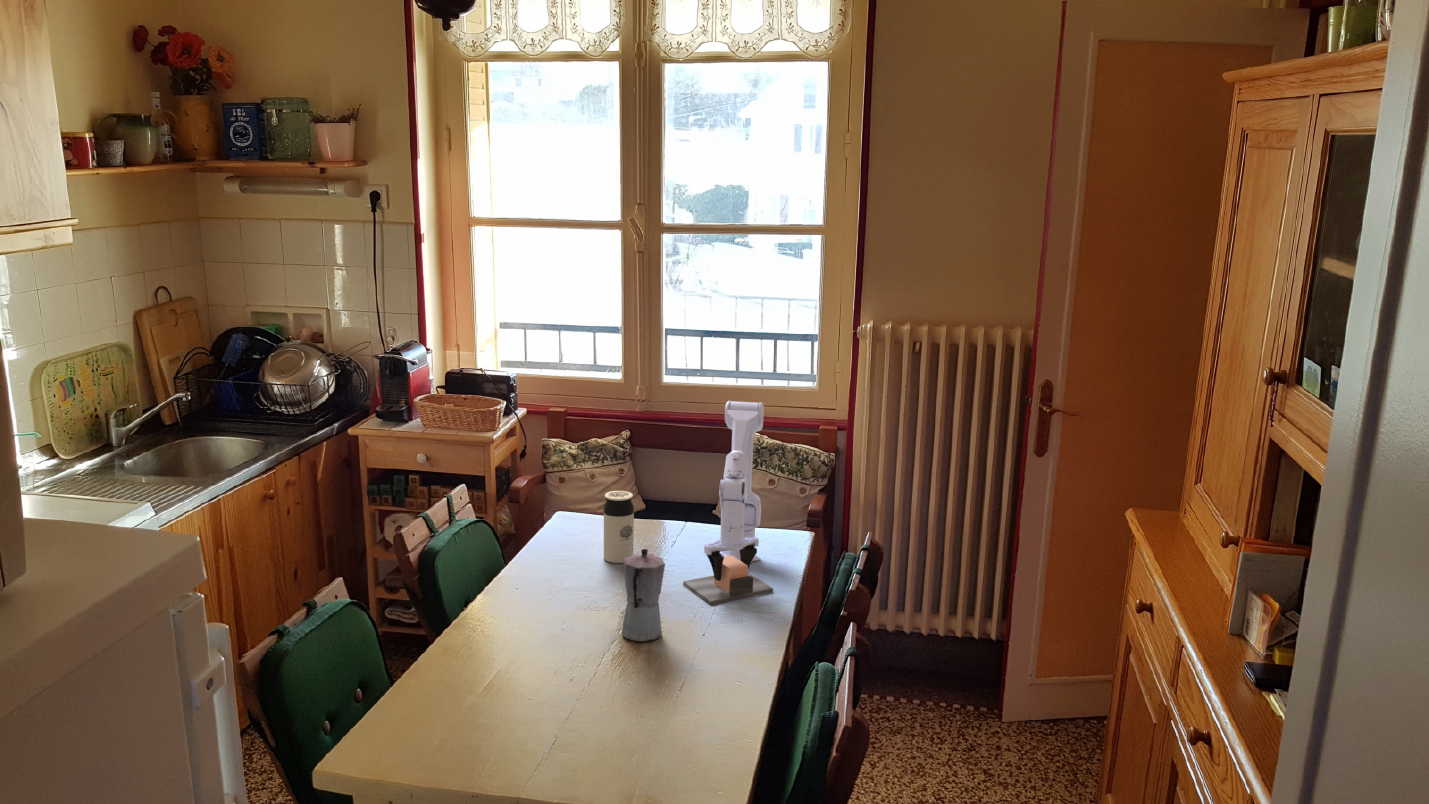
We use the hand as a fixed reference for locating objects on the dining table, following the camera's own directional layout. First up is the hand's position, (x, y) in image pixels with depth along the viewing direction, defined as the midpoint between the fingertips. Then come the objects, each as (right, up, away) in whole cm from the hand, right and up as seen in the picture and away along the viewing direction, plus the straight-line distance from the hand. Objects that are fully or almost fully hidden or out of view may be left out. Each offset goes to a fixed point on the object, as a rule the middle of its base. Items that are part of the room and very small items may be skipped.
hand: (730, 576), depth 261 cm
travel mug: (-30, +1, +20) cm, 36 cm away
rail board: (-1, -3, +2) cm, 4 cm away
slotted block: (0, -3, +1) cm, 3 cm away
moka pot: (-20, -9, -26) cm, 34 cm away
